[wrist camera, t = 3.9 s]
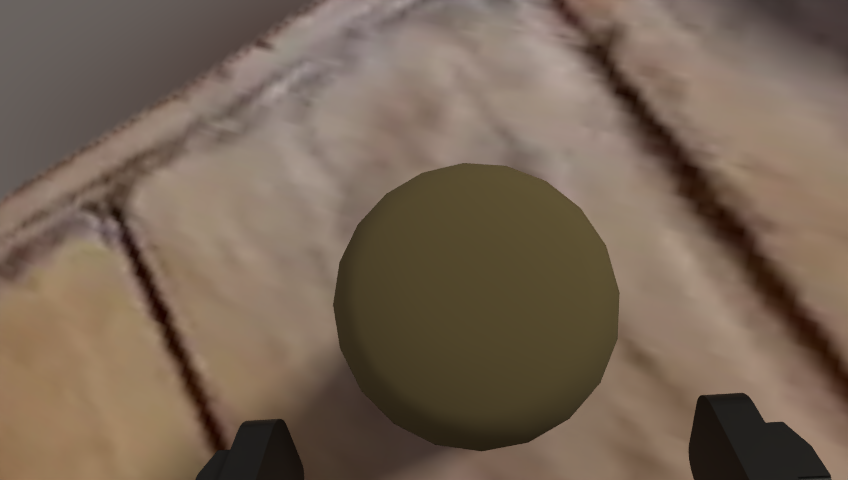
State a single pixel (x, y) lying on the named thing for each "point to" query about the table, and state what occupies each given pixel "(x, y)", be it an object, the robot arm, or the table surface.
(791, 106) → the table surface
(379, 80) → the table surface
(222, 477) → the robot arm
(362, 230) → the cork
